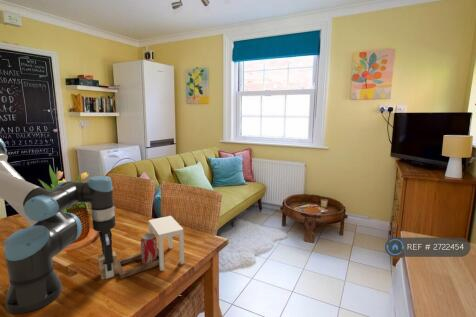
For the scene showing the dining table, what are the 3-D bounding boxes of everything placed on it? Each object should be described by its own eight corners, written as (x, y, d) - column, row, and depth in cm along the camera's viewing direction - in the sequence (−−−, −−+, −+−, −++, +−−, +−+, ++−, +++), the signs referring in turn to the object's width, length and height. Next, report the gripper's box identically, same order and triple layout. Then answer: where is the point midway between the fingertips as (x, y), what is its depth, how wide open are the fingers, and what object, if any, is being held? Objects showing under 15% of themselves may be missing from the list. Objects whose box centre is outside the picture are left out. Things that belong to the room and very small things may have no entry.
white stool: (160, 270, 104) (158, 234, 102) (150, 252, 118) (148, 220, 115) (184, 263, 110) (183, 229, 107) (171, 246, 123) (170, 215, 120)
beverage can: (153, 267, 106) (152, 240, 104) (139, 266, 107) (137, 239, 105) (159, 259, 113) (158, 233, 110) (146, 258, 113) (144, 232, 111)
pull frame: (102, 284, 96) (99, 265, 94) (99, 269, 105) (96, 251, 103) (164, 263, 108) (162, 245, 106) (156, 251, 117) (155, 234, 115)
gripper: (118, 223, 92) (123, 282, 97) (111, 208, 106) (115, 260, 111) (94, 228, 88) (100, 290, 93) (90, 211, 102) (95, 265, 107)
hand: (109, 273), depth 102 cm, fingers closed on pull frame, 4 cm apart
